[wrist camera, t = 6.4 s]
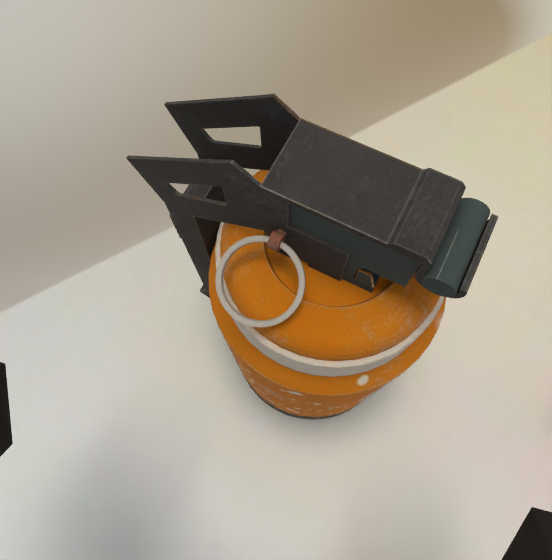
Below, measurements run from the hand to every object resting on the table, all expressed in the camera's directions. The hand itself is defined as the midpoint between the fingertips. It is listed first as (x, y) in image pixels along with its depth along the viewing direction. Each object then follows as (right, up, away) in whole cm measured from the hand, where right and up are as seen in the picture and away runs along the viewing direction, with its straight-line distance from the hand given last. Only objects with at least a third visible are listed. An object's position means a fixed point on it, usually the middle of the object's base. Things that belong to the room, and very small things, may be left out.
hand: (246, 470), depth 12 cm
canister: (+2, +1, +19) cm, 19 cm away
